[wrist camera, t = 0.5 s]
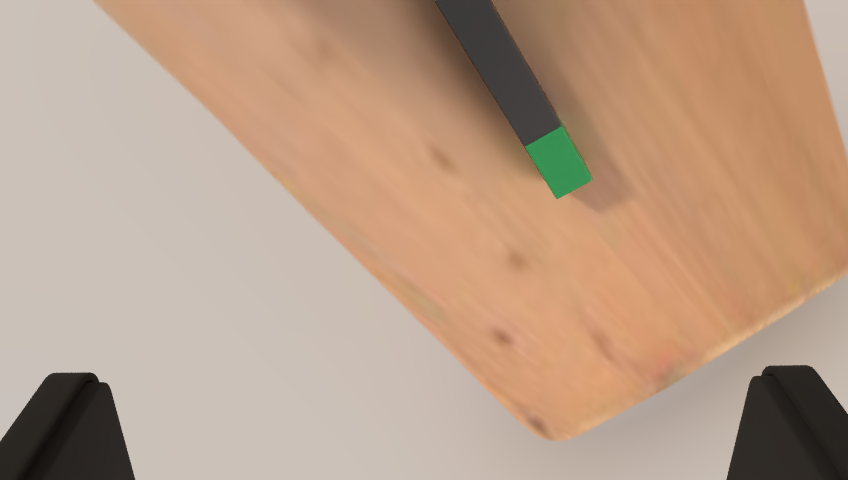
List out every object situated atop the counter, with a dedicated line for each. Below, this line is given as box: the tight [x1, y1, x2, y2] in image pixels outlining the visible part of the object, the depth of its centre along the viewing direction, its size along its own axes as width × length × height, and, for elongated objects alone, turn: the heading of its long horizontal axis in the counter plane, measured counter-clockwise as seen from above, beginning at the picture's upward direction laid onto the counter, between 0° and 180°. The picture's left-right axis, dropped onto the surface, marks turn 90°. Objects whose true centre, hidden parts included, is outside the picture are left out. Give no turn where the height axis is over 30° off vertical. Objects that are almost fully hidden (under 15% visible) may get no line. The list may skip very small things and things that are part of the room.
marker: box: [434, 0, 592, 199], centre depth 42 cm, size 14×2×2 cm, turn 33°
